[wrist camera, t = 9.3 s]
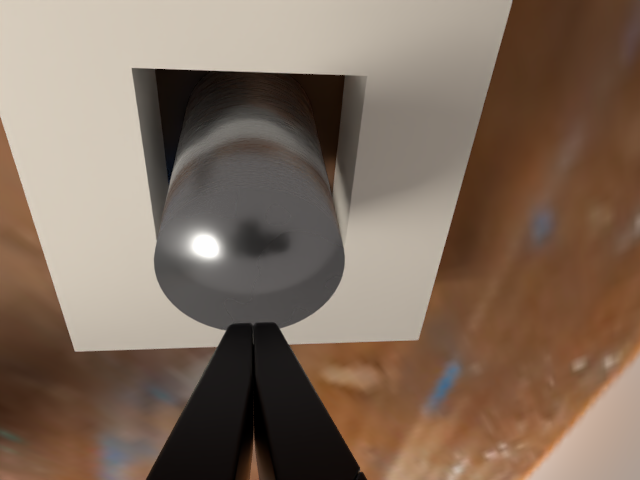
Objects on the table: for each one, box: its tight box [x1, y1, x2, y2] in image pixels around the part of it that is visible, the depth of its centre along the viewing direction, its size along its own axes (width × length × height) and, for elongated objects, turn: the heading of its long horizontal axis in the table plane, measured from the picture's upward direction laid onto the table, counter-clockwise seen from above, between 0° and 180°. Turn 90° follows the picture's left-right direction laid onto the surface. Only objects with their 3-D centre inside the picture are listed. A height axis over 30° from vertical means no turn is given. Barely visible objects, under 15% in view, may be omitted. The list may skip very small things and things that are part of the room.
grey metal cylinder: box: [154, 71, 345, 330], centre depth 14 cm, size 4×4×7 cm
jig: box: [0, 0, 513, 352], centre depth 15 cm, size 14×12×3 cm
